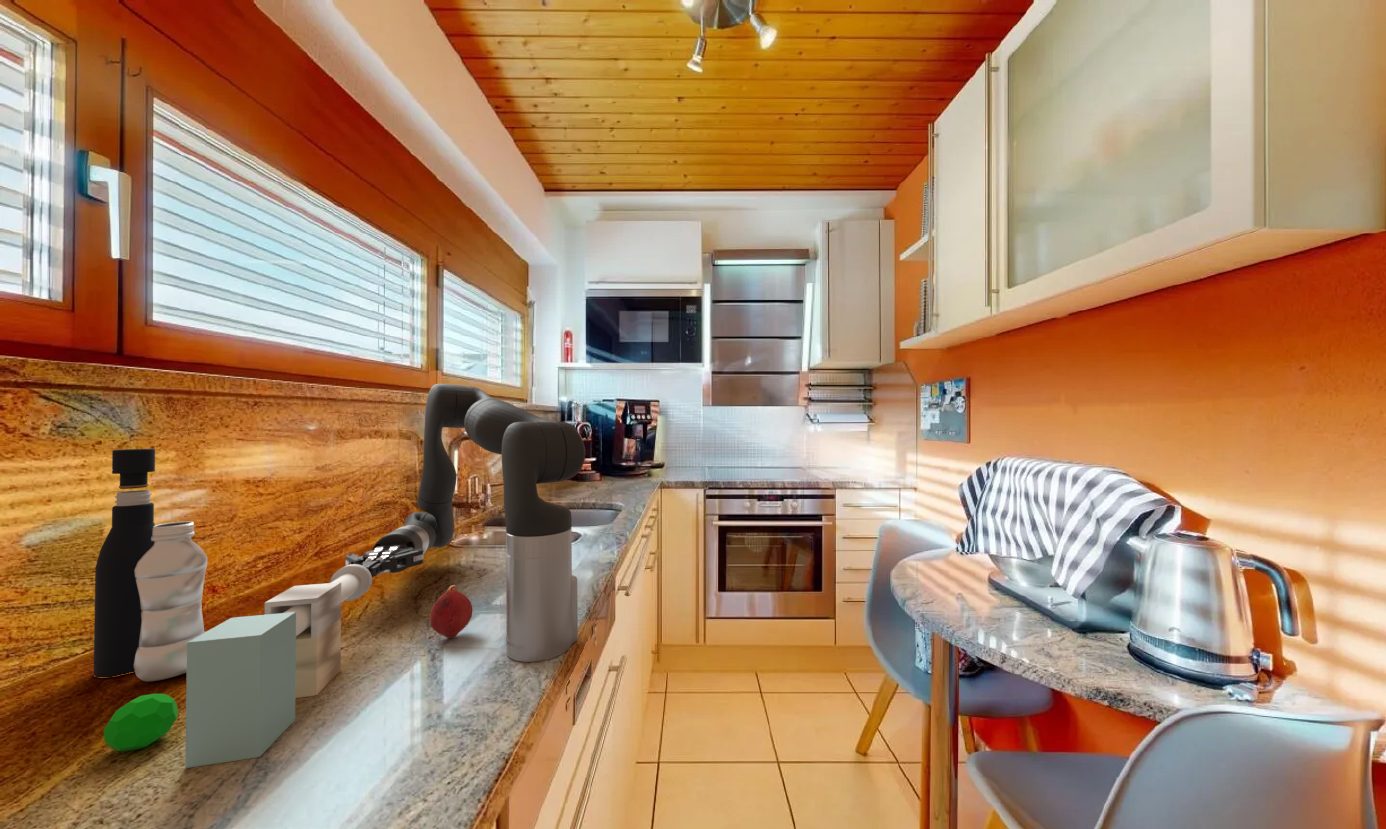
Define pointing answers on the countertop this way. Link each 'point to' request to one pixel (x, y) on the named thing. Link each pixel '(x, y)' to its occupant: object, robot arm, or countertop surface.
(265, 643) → the socket
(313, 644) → the sleeve stand
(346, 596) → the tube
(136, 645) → the wine bottle
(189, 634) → the plastic bottle
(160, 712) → the polyhedron
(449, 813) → the countertop surface
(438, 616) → the onion
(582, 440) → the robot arm
